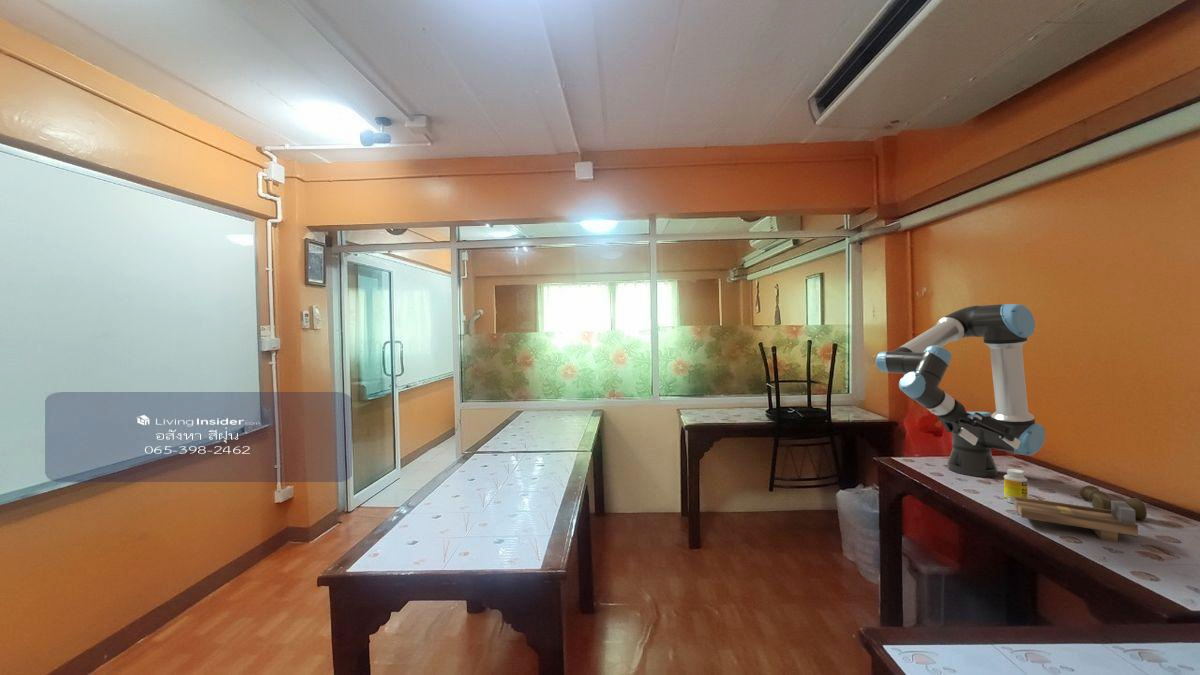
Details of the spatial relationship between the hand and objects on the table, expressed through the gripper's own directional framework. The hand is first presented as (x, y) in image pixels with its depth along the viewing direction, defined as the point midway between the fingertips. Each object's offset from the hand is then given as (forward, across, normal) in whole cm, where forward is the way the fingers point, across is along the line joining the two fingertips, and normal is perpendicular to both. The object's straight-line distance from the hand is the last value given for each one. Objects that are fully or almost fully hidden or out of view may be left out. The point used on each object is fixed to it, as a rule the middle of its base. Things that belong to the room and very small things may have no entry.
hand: (996, 443), depth 146 cm
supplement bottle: (+14, 0, -13) cm, 19 cm away
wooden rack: (+12, +18, -18) cm, 28 cm away
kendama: (+31, +11, -3) cm, 33 cm away
